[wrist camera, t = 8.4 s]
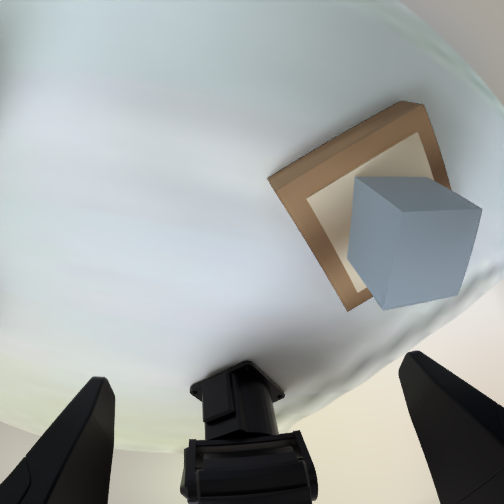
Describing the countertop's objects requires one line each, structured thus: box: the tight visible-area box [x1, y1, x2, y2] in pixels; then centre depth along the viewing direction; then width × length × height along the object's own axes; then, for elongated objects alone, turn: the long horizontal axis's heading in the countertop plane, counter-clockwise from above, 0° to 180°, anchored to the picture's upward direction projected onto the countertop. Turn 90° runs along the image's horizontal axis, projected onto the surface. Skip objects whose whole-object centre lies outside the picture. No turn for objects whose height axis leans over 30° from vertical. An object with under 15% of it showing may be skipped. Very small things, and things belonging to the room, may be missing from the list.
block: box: [347, 177, 482, 310], centre depth 15 cm, size 5×5×5 cm
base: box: [267, 101, 451, 312], centre depth 19 cm, size 10×10×3 cm
